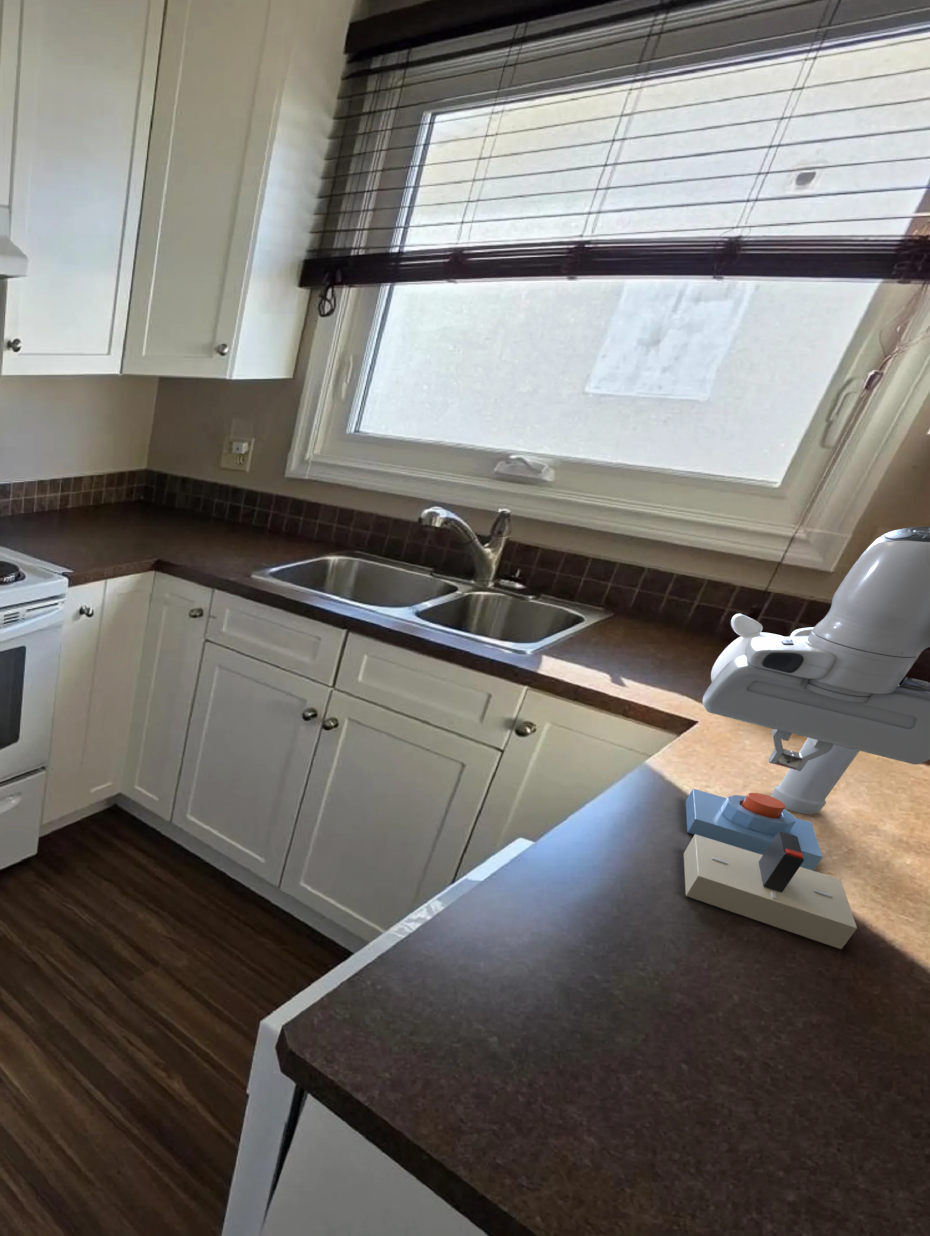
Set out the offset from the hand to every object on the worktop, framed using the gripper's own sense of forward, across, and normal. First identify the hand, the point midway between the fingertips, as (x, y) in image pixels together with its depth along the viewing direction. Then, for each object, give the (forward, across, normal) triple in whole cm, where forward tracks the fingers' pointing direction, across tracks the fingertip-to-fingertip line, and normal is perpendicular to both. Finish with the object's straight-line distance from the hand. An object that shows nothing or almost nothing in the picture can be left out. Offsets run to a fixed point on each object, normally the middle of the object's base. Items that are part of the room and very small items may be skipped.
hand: (783, 765), depth 100 cm
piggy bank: (+11, -3, -58) cm, 59 cm away
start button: (+7, 0, 0) cm, 7 cm away
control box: (+10, 0, +17) cm, 20 cm away
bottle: (+10, -6, -15) cm, 19 cm away
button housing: (+10, 0, 0) cm, 10 cm away
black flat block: (+7, 0, +17) cm, 19 cm away
